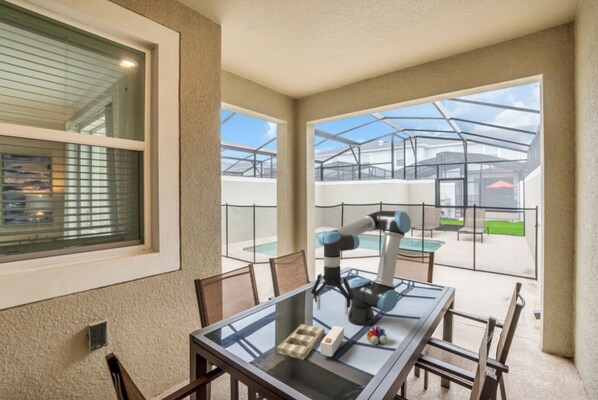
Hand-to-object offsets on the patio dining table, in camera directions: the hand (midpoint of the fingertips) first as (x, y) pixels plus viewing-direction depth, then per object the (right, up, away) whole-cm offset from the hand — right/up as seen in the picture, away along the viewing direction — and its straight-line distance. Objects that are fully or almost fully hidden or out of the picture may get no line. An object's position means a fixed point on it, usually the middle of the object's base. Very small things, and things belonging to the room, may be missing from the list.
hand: (332, 311), depth 128 cm
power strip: (0, -18, 0) cm, 18 cm away
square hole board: (-14, -18, +7) cm, 23 cm away
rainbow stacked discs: (+23, -18, +8) cm, 30 cm away
